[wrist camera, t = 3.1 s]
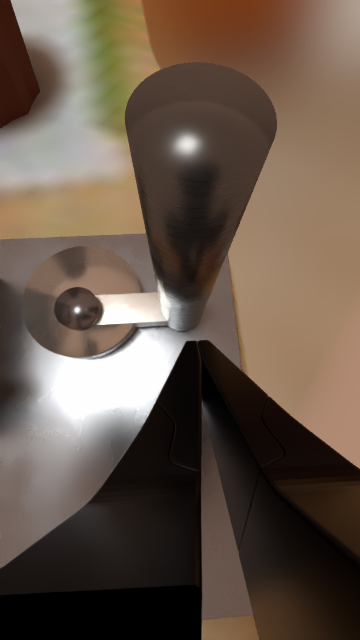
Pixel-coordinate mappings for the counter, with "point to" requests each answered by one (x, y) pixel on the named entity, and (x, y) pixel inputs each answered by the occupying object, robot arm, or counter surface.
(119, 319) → the crank handle
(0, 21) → the muffin
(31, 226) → the counter surface
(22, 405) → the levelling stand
